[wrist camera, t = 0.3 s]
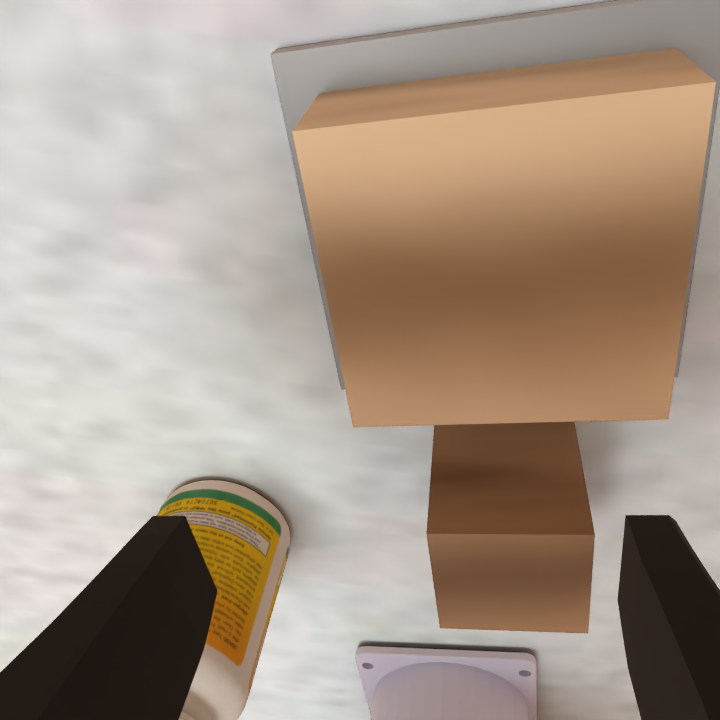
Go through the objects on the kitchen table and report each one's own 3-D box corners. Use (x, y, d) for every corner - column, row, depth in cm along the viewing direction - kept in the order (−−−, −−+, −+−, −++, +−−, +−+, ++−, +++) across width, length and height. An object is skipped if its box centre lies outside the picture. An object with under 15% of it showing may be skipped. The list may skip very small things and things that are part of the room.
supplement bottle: (306, 564, 28) (242, 826, 20) (188, 565, 29) (86, 813, 21) (273, 471, 25) (183, 737, 17) (143, 476, 26) (4, 727, 18)
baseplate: (672, 365, 20) (677, 377, 19) (344, 378, 22) (341, 389, 21) (725, -16, 14) (734, -12, 14) (276, 48, 16) (270, 54, 16)
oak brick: (644, 350, 19) (668, 418, 17) (367, 362, 21) (353, 426, 18) (675, 47, 15) (715, 81, 12) (319, 92, 16) (292, 131, 14)
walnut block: (568, 506, 24) (587, 633, 20) (445, 506, 25) (439, 628, 21) (572, 411, 22) (594, 534, 18) (435, 415, 22) (426, 533, 18)
